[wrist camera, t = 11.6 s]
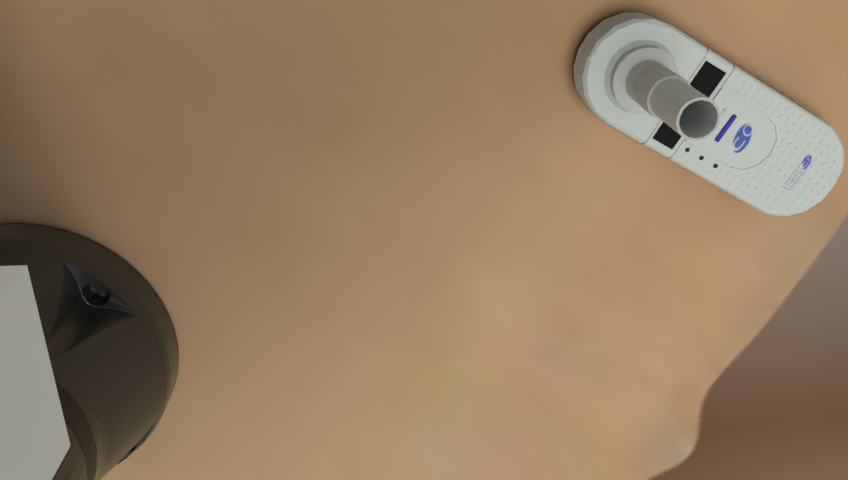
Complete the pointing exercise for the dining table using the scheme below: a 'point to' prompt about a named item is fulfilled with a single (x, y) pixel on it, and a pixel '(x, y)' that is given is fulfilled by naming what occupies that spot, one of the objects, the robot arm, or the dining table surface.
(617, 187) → the dining table surface
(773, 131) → the electronic device
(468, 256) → the dining table surface
